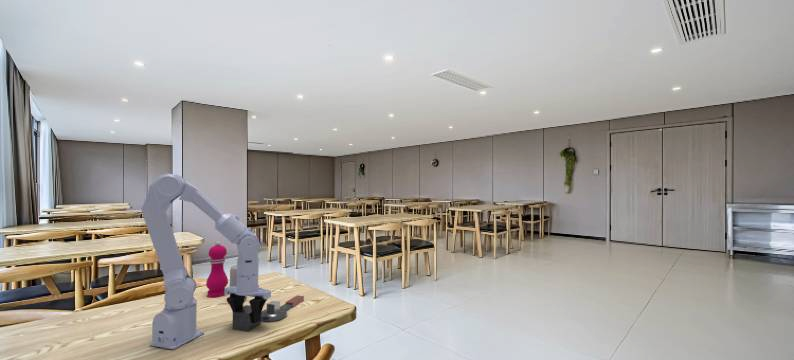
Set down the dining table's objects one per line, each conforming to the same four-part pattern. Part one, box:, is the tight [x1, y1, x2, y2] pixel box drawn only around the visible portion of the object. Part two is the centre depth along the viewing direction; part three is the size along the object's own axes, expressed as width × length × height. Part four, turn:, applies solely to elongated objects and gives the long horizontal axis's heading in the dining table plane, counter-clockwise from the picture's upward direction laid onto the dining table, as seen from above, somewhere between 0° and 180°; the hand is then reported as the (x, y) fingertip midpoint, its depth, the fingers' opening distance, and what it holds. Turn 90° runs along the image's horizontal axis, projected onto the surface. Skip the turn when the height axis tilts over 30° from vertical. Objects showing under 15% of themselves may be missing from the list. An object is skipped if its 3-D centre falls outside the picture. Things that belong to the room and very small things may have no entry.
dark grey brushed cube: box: [232, 304, 262, 332], centre depth 95 cm, size 5×5×5 cm
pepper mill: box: [205, 240, 229, 298], centre depth 122 cm, size 7×7×20 cm
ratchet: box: [261, 295, 305, 324], centre depth 108 cm, size 20×8×4 cm, turn 165°
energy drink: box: [229, 264, 247, 302], centre depth 116 cm, size 5×5×12 cm
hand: (247, 320), depth 95 cm, fingers closed on dark grey brushed cube, 5 cm apart
